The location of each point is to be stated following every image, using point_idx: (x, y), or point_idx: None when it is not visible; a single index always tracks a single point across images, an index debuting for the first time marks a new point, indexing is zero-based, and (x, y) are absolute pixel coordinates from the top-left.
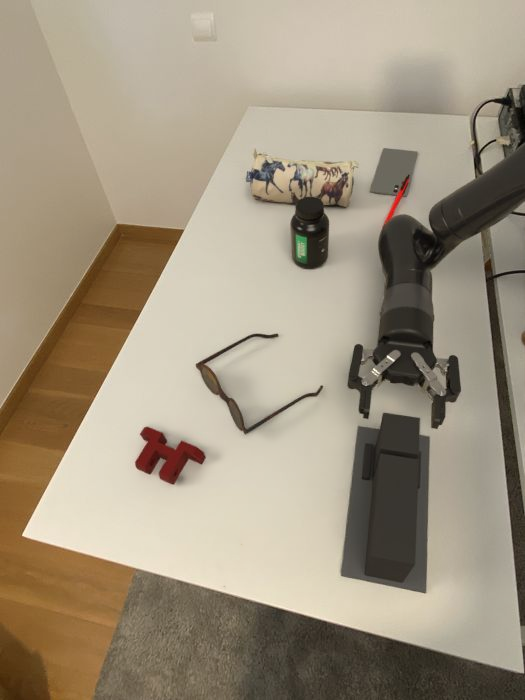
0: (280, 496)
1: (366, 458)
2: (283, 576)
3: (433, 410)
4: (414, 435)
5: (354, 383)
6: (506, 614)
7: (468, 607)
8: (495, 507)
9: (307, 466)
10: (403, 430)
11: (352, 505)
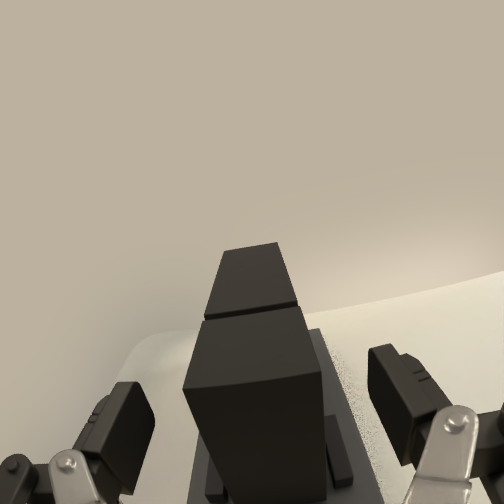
0: (446, 357)
1: (338, 445)
2: (380, 313)
3: (128, 430)
4: (208, 345)
5: (491, 416)
6: (134, 355)
7: (170, 351)
8: None
9: None
10: (241, 347)
11: (335, 385)
